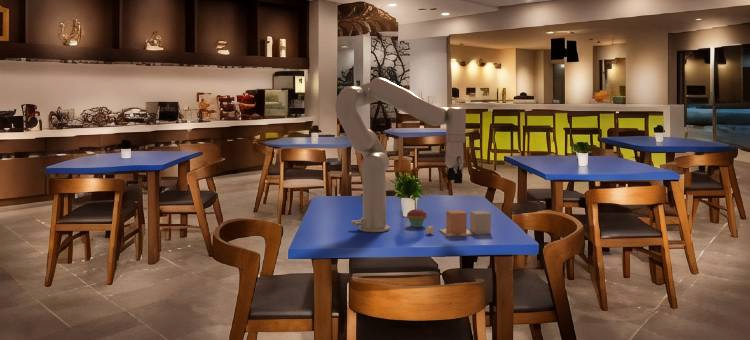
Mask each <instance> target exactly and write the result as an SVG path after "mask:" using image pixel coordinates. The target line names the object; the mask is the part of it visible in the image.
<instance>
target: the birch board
mask: <svg viewBox="0 0 750 340" xmlns="http://www.w3.org/2000/svg"><path fill="white" fill-rule="evenodd" d="M438 231H439V232H440V233H442V234H443V235H444V236H446V237H461V236H462V237H463V236H464V237H465V236H466V237H467V236H475V234H474V233H473V232H471V231H470V229H467V228H466V233H449V232H448V231H447V230H446V228H441V229H439V230H438Z"/></svg>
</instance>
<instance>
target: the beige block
mask: <svg viewBox="0 0 750 340" xmlns="http://www.w3.org/2000/svg"><path fill="white" fill-rule="evenodd" d="M491 220H492V213H491V212H490V211H489V212H488V211H486V210H473V211H469V231H470V232H472V233H474V235H485V234H491V231H492V226H491V225H492V221H491Z"/></svg>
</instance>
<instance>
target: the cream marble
mask: <svg viewBox="0 0 750 340" xmlns="http://www.w3.org/2000/svg"><path fill="white" fill-rule="evenodd" d="M434 231H435V228H434V227H433V226H432V225H430V226H429V225H428V226H427V227H426V229H425V232H426V234H427V235H432V234H433V233H434Z"/></svg>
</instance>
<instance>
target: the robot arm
mask: <svg viewBox="0 0 750 340" xmlns="http://www.w3.org/2000/svg"><path fill="white" fill-rule="evenodd" d="M379 101H381V102H383V103H385V104H387V105H390V106H391V107H393V108H394V109H398V110H399V111H401V112H403V113H404V114H407V115H410V116H412V117H413V118H416V119H417V120H419V121H422V122H423V123H425V124H426V125H427V124H428V125H430V126H433V127H439V126H443V125H446V127H445V128H446V129H445V143H446V147H445V148H446V149H445V162H444V165H445V166H446V167H447V168H446V170H447V171H446V180H447V181H453V183H454V184H463V170H464V169H463V167H464V143H466V124H467V123H466V120H467V119H466V118H467V113H466V112H467V111H466V108H464V107H459V106H458V107H456V106H455V107H453V106H451V107H443V106H436V105H434V104H432V103H430V102H428V101H426V100H424V99H422V98H421V97H418V96H417V95H415V93H413V92H412V91H410V90H408V89H406V88H404V87H402V86H399V85H397V84H396V83H394V82H391V81H390V80H389V79H387V78H384V77H375V78H373V79H371V81H370V82H367V83H364V84H361V85H358V86H354V85H350V86H349V85H347V86H345V88H342V89H341V90H340V92H339V93H338V95H337V97H336V100H335V103H334V105H335V109H334V110H335V113H336V116H337V119H338V121H339V123H340V125H341V126H342V129H343V130H344V133H345V135H346V137H347V139H348V140H349V142H350V144H351V146H352V148H353V150H355V151H356V152H357V153H360V154H361V156H362V158H363V159H362V161H361V165H360V167H361V168H360V169H361V179H362V181H361V182H362V217H361V219H358V220H351V226H358V229H359V230H360V232H361V231H362V232H365V233H381V232H383V233H384V232H387V231H390V225H388V224H387V185H386V184H387V180H386V171H387V170H388V168H389V166H390V159H389V156H388V154H387V152H386V150H385V148H384V147H383V145H382V143H381V142H380V141H381V140H380V139H379V137H378V136H377V134H376V133H375V132H374V131H373V130H372V129H369V128H367V126H366V124H365V122H364V121H363V118H362V117H361V115H360V114H359V112H358V110H357V108H358V107H363V106H367V105H370V104H372V103H375V102H379Z"/></svg>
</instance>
